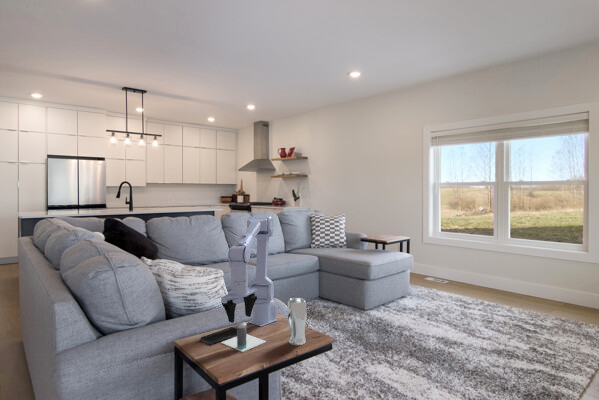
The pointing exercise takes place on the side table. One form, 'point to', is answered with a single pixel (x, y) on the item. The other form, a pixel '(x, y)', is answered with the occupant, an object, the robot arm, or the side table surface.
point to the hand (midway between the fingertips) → (240, 319)
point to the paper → (250, 342)
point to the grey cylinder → (241, 335)
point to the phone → (220, 336)
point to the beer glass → (297, 320)
